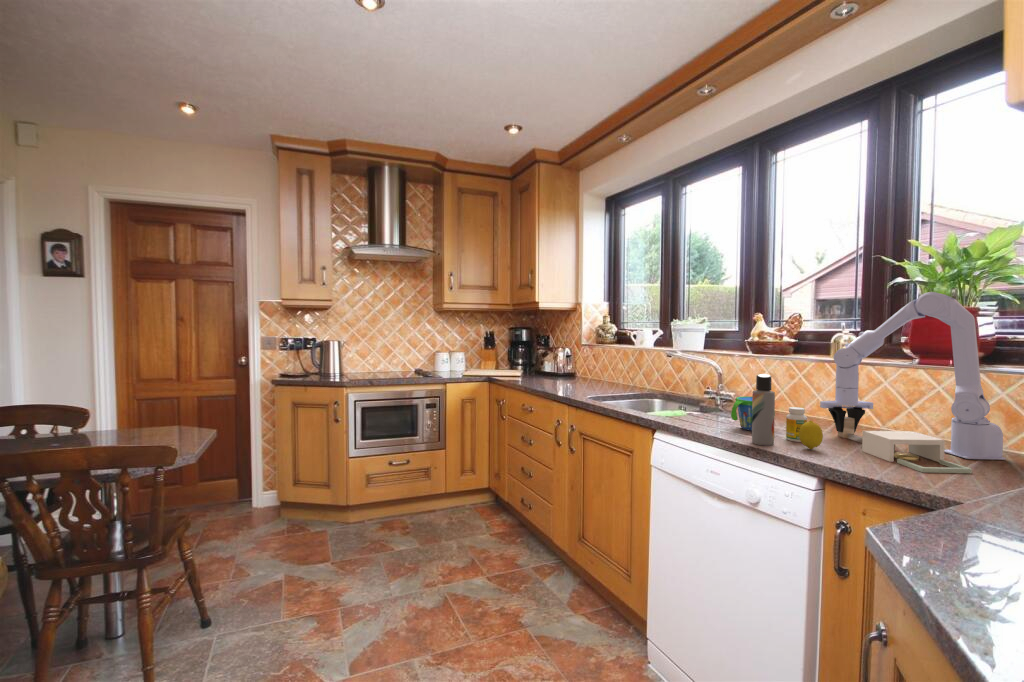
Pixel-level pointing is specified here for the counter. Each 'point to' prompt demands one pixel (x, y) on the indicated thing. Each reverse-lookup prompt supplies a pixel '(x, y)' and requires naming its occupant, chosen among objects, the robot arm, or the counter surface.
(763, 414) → the lotion bottle
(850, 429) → the push slider
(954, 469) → the tray
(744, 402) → the snack cup
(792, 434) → the supplement bottle
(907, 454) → the token
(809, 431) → the lemon
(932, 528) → the counter surface
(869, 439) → the ivory tunnel cover
